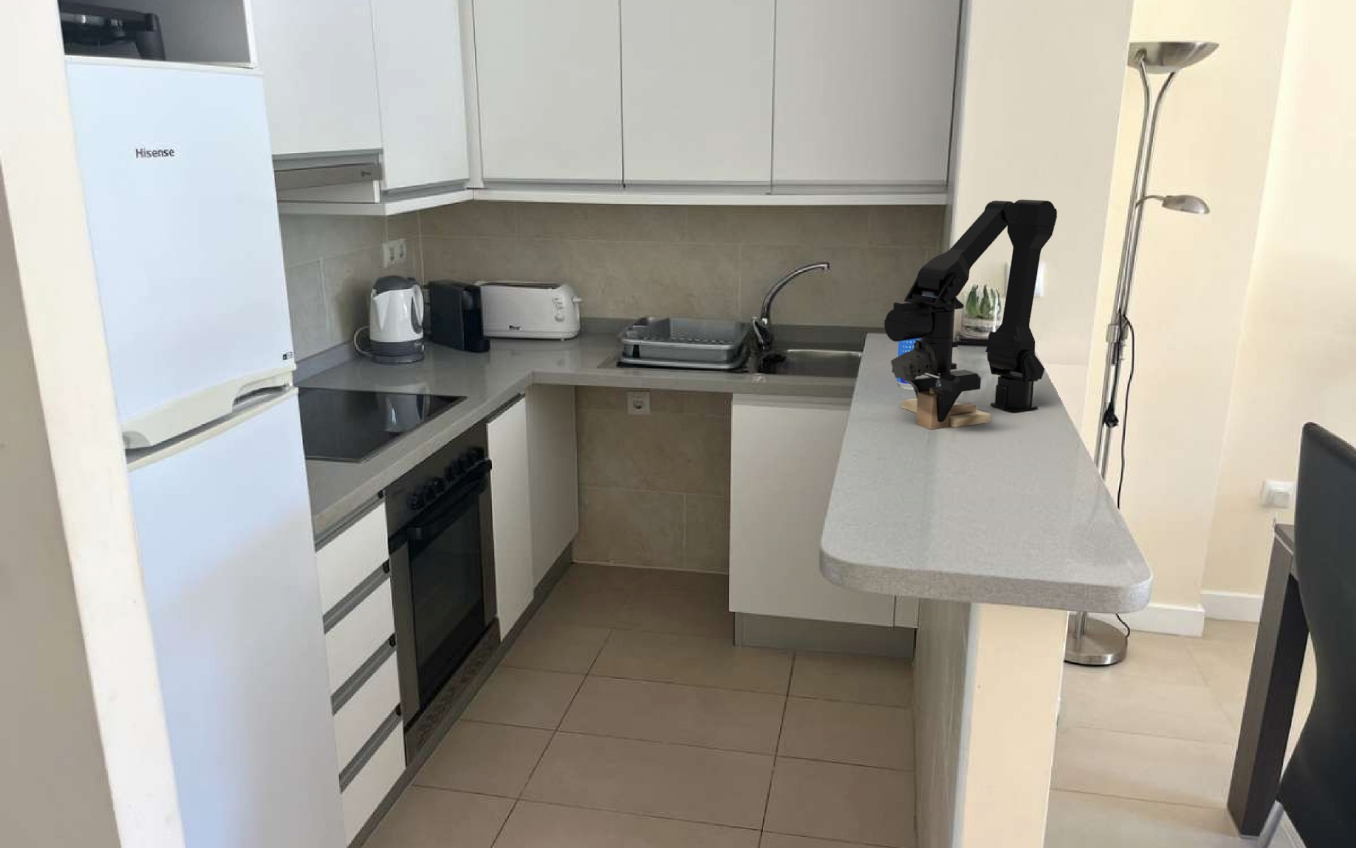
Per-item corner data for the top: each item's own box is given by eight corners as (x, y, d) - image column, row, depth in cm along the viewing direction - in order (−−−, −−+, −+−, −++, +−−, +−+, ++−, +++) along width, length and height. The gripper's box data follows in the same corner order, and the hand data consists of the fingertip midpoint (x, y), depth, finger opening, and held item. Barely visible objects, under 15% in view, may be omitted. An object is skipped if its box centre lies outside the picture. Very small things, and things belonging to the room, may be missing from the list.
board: (935, 402, 200) (936, 395, 199) (989, 422, 186) (990, 414, 185) (902, 407, 197) (902, 400, 196) (954, 427, 183) (955, 419, 182)
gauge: (963, 416, 190) (965, 380, 188) (979, 421, 186) (981, 385, 184) (916, 423, 185) (917, 387, 184) (931, 429, 182) (933, 392, 180)
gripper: (869, 330, 185) (866, 412, 189) (932, 348, 168) (928, 437, 173) (919, 325, 189) (915, 405, 193) (985, 342, 173) (979, 429, 177)
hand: (932, 418), depth 184 cm, fingers closed on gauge, 4 cm apart
